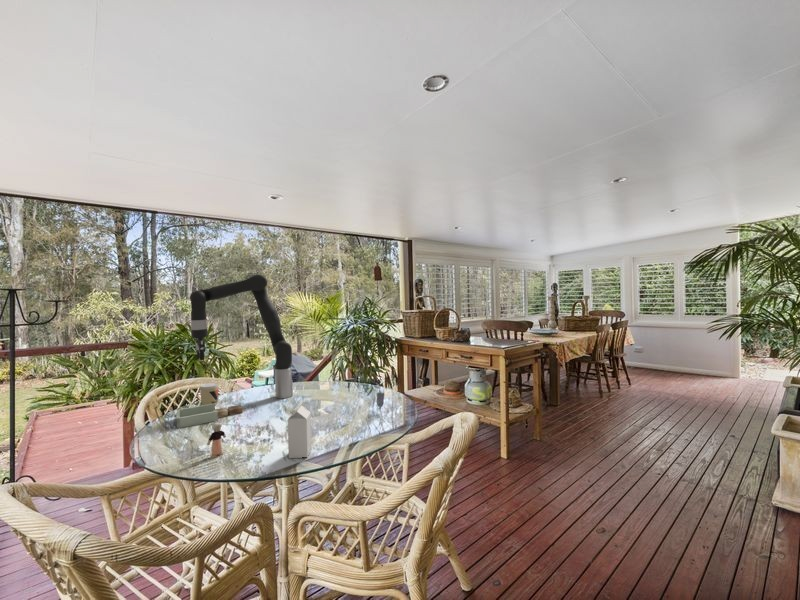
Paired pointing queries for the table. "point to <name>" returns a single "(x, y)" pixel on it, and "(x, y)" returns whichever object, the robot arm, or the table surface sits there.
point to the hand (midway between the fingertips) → (200, 358)
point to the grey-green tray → (196, 415)
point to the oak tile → (221, 412)
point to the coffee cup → (209, 393)
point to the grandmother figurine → (216, 440)
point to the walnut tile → (235, 410)
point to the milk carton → (299, 432)
